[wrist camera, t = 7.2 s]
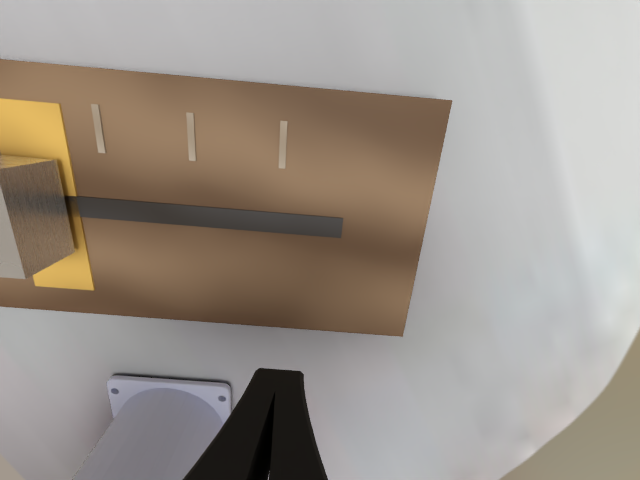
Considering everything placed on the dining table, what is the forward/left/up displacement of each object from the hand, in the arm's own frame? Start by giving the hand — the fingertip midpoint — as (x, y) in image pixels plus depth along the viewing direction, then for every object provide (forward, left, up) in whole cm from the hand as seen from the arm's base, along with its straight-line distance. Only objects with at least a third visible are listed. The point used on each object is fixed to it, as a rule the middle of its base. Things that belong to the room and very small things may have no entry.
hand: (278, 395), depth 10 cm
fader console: (+3, +7, -9) cm, 12 cm away
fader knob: (+3, +12, -7) cm, 14 cm away
